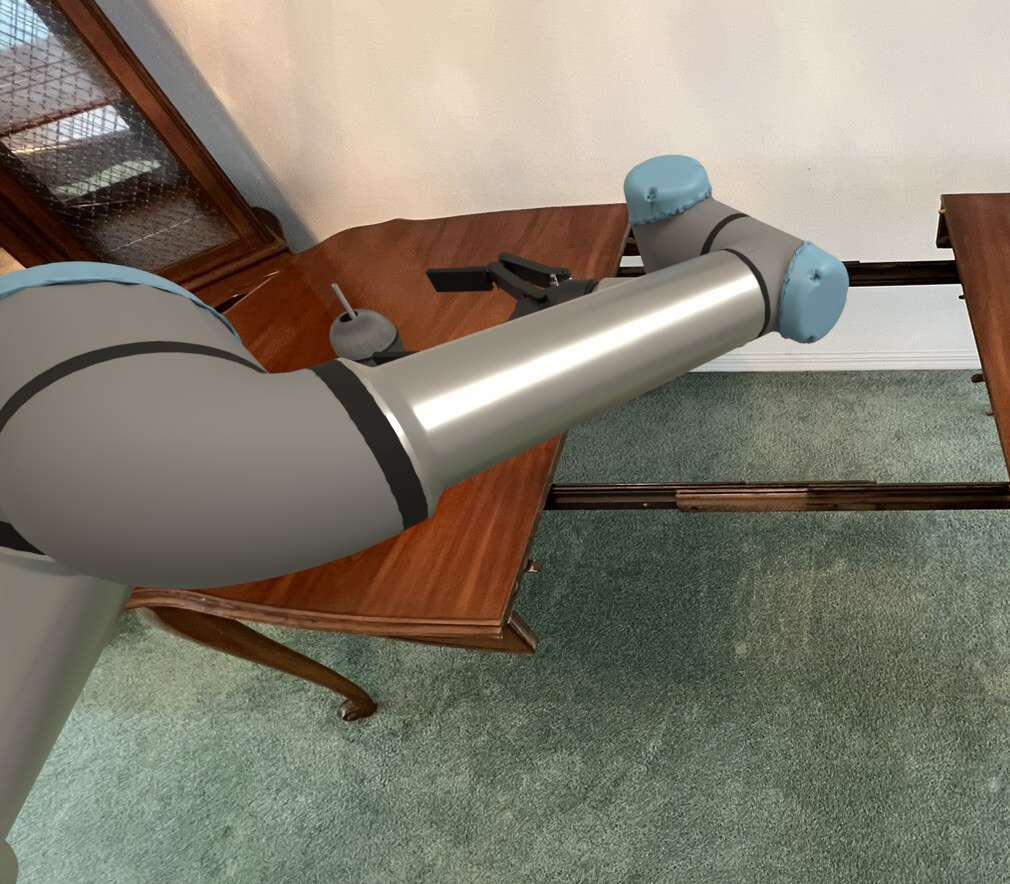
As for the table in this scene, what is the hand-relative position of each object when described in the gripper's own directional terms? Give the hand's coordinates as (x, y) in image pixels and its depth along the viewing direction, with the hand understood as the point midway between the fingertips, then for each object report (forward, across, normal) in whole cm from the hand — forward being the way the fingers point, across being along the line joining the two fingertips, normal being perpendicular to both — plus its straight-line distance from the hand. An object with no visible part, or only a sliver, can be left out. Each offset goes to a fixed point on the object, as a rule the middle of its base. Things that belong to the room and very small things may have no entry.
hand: (407, 319), depth 71 cm
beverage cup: (+11, +5, -19) cm, 22 cm away
